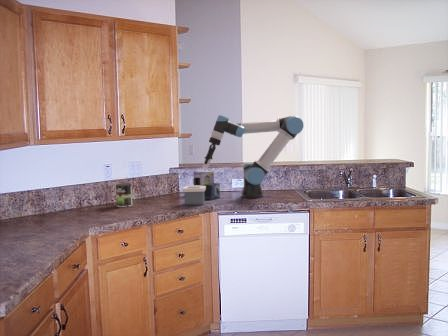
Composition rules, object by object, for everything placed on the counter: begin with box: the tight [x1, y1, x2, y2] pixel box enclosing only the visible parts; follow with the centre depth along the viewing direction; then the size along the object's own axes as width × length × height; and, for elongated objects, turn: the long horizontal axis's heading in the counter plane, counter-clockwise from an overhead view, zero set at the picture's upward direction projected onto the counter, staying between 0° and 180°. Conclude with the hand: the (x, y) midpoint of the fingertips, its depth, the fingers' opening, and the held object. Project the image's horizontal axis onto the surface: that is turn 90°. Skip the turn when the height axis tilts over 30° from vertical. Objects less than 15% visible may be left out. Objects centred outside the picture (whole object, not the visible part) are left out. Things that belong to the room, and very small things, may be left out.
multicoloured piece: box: [115, 183, 133, 208], centre depth 315 cm, size 10×10×14 cm
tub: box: [184, 192, 206, 206], centre depth 314 cm, size 12×8×9 cm, turn 88°
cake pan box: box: [192, 169, 215, 186], centre depth 352 cm, size 19×5×18 cm, turn 43°
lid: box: [182, 184, 206, 193], centre depth 314 cm, size 14×12×3 cm
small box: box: [204, 182, 221, 201], centre depth 334 cm, size 11×6×10 cm, turn 143°
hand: (204, 168), depth 321 cm, fingers open, 13 cm apart
